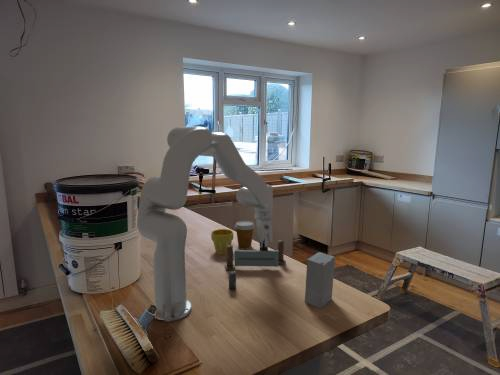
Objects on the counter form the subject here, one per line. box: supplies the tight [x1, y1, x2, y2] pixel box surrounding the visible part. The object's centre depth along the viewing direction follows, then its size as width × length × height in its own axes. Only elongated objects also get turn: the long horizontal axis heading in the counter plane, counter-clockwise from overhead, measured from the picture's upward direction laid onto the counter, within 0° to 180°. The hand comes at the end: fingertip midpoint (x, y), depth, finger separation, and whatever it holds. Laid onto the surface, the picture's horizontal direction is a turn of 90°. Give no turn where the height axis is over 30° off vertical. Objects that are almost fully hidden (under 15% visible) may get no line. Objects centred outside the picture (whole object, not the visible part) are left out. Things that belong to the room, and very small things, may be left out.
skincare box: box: [304, 251, 336, 309], centre depth 108 cm, size 8×7×16 cm
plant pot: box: [210, 228, 234, 255], centre depth 154 cm, size 10×10×10 cm
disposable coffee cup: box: [234, 220, 255, 250], centre depth 160 cm, size 10×10×12 cm
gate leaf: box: [233, 249, 279, 268], centre depth 134 cm, size 18×2×7 cm, turn 88°
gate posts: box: [224, 239, 287, 291], centre depth 129 cm, size 28×20×10 cm
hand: (263, 256), depth 137 cm, fingers closed
